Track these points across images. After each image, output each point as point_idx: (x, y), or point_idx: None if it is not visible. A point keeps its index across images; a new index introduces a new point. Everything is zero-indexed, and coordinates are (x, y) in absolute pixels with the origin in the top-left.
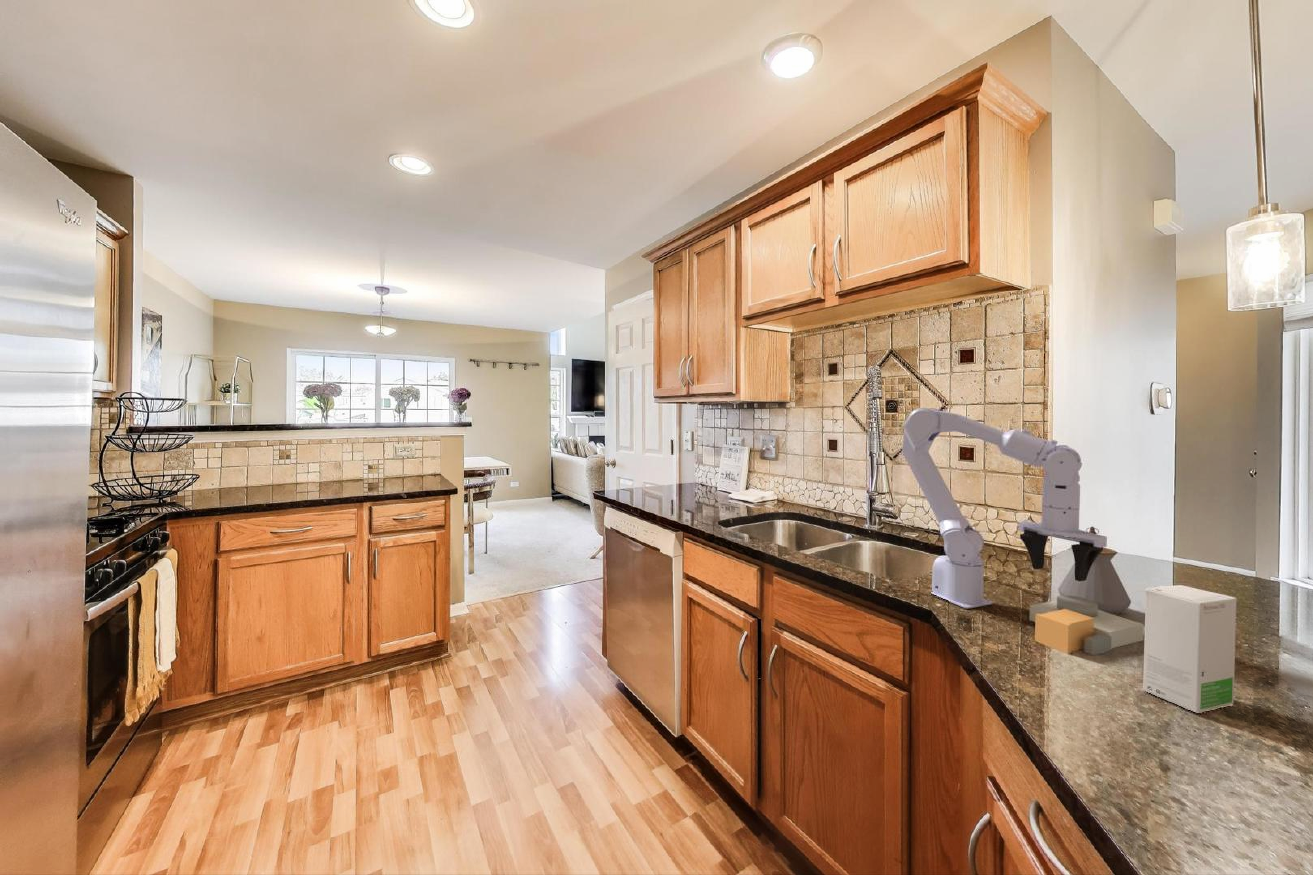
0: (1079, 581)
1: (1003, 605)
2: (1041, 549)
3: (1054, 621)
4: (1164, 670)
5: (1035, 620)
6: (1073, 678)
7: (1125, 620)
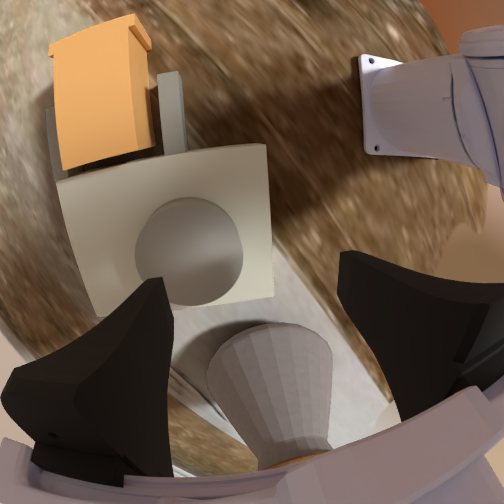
0: (281, 373)
1: (351, 175)
2: (387, 346)
3: (81, 31)
4: None
5: (138, 20)
6: (32, 8)
7: (117, 302)
